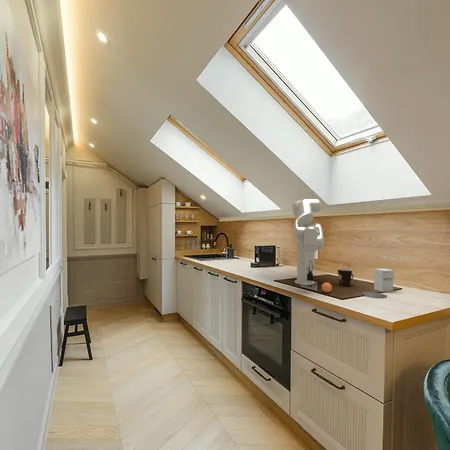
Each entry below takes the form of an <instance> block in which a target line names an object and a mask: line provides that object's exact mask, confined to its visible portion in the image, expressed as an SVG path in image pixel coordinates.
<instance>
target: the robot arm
mask: <svg viewBox="0 0 450 450" xmlns="http://www.w3.org/2000/svg"><path fill="white" fill-rule="evenodd" d="M321 210H322V202H321V200H320V199H317V198H308V199H307V198H304V199H301V200H295V201H294V202H293V204H292V212H293V216H294V218H295V220H294V223H293V236H294V238H295V239H296V240H295V241H296V242H295V243H296V250H297V253H296V254H297V255H296V256H297V264H296V265H297V267H296V271H297V273H296V279H295V280H294V283H295V284H297V285H301V286H314V285H315V281H314V271H313V270H314V269H315V264H316V262H315V260H316V252H318V251H319V250H320V251H321V250H323V249H324V248H325V237H324V231H323V226H322V224H321V223H319V222H311V221H313V219H314V213H319V212H320V211H321Z"/></svg>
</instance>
